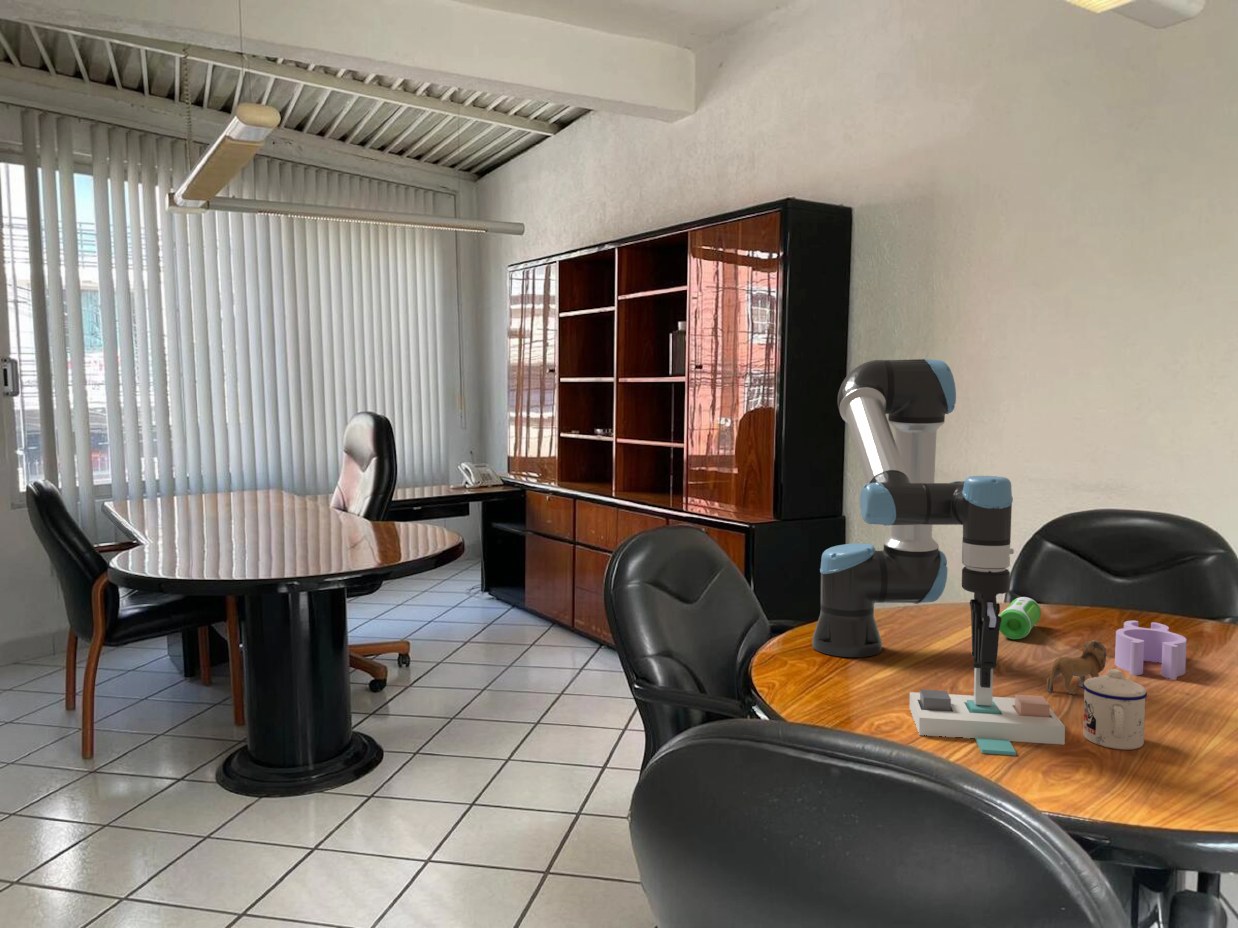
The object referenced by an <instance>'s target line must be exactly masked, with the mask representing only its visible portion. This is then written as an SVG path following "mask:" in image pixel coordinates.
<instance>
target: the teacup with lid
mask: <svg viewBox="0 0 1238 928" xmlns="http://www.w3.org/2000/svg"><path fill="white" fill-rule="evenodd" d="M1082 688H1083V689H1084V692H1083V693H1084V694H1083V720H1082V721H1083V724H1082V725H1083V726H1082V728H1083V729H1082V734H1083V737H1084V738H1085V739H1086V740H1088V741H1089V742H1090V743H1092V744H1095V745H1097V746H1101V747H1104V748H1109V749H1112V750H1113V749H1114V750H1126V751H1127V750H1136V749H1139V748H1141V747H1142V746H1143V745H1144V742H1145V716H1146V715H1145V714H1146V713H1145V712H1146V711H1145V710H1146V698H1147V697H1148V693H1147V690H1146V688H1145V687H1144V686H1143V685H1141V684H1140V683H1137V682H1135V681H1132V680H1131V679H1129V678H1127V677H1126V676H1123V672H1122V671H1121V670H1120V669H1116V668H1110V669H1108V670H1107V673H1105V674H1102V675H1099V677H1093V678H1092V677H1088V678H1087V679H1085V682H1084V684H1083V687H1082Z"/></svg>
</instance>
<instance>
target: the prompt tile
mask: <svg viewBox="0 0 1238 928" xmlns="http://www.w3.org/2000/svg"><path fill="white" fill-rule="evenodd" d="M975 742H976V744H977V747H978V748H979V751H981V753H982V754H989V755H1002V756H1014V757H1015V756H1017V751H1016V749H1015V748H1014V746H1013V745H1012V743H1011V741H1009V740H1006V739H990V738H976V739H975Z"/></svg>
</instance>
